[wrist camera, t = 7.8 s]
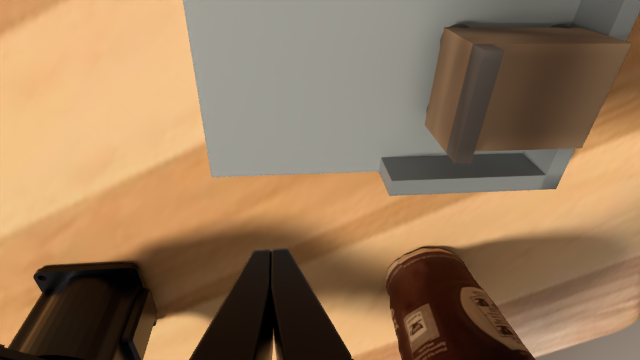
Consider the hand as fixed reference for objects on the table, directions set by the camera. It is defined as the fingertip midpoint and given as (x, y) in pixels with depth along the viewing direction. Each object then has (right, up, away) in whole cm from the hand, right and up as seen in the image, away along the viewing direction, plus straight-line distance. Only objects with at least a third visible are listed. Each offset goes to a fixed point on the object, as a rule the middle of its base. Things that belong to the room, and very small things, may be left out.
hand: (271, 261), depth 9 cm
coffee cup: (+9, -5, +20) cm, 23 cm away
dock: (+5, +8, +10) cm, 14 cm away
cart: (+10, +8, +11) cm, 17 cm away
